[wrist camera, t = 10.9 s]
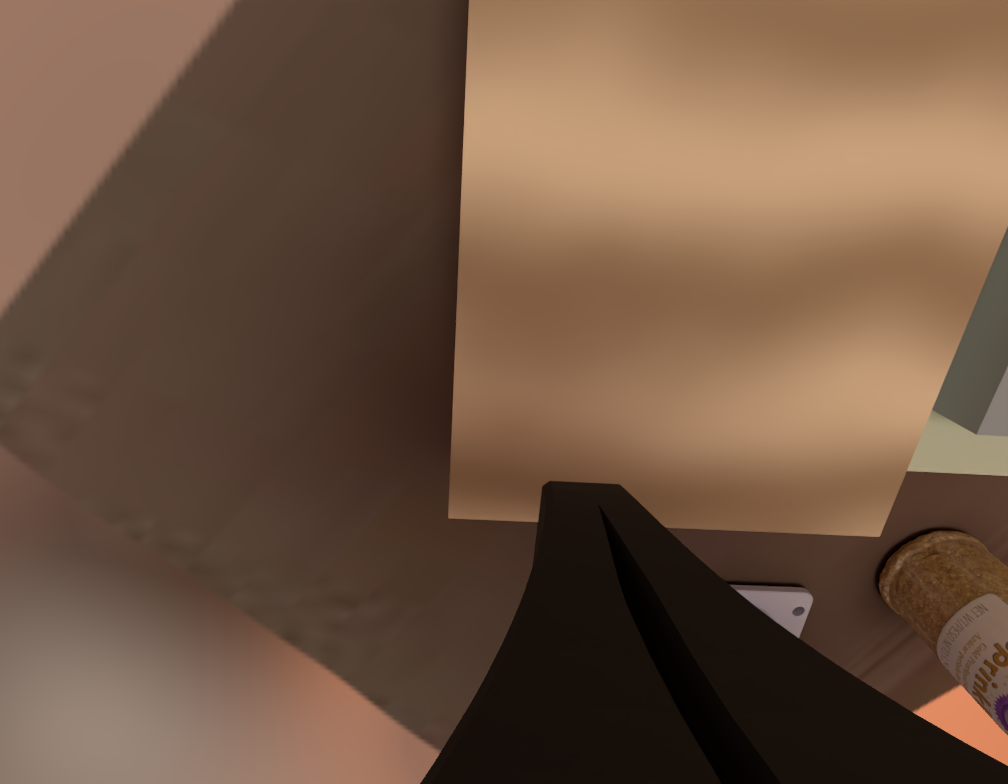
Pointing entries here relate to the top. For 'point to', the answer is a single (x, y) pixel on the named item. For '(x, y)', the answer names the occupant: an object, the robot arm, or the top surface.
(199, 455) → the top surface
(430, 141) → the top surface
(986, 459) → the mat
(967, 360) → the grey rectangular block
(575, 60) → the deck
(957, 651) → the sprinkles bottle
